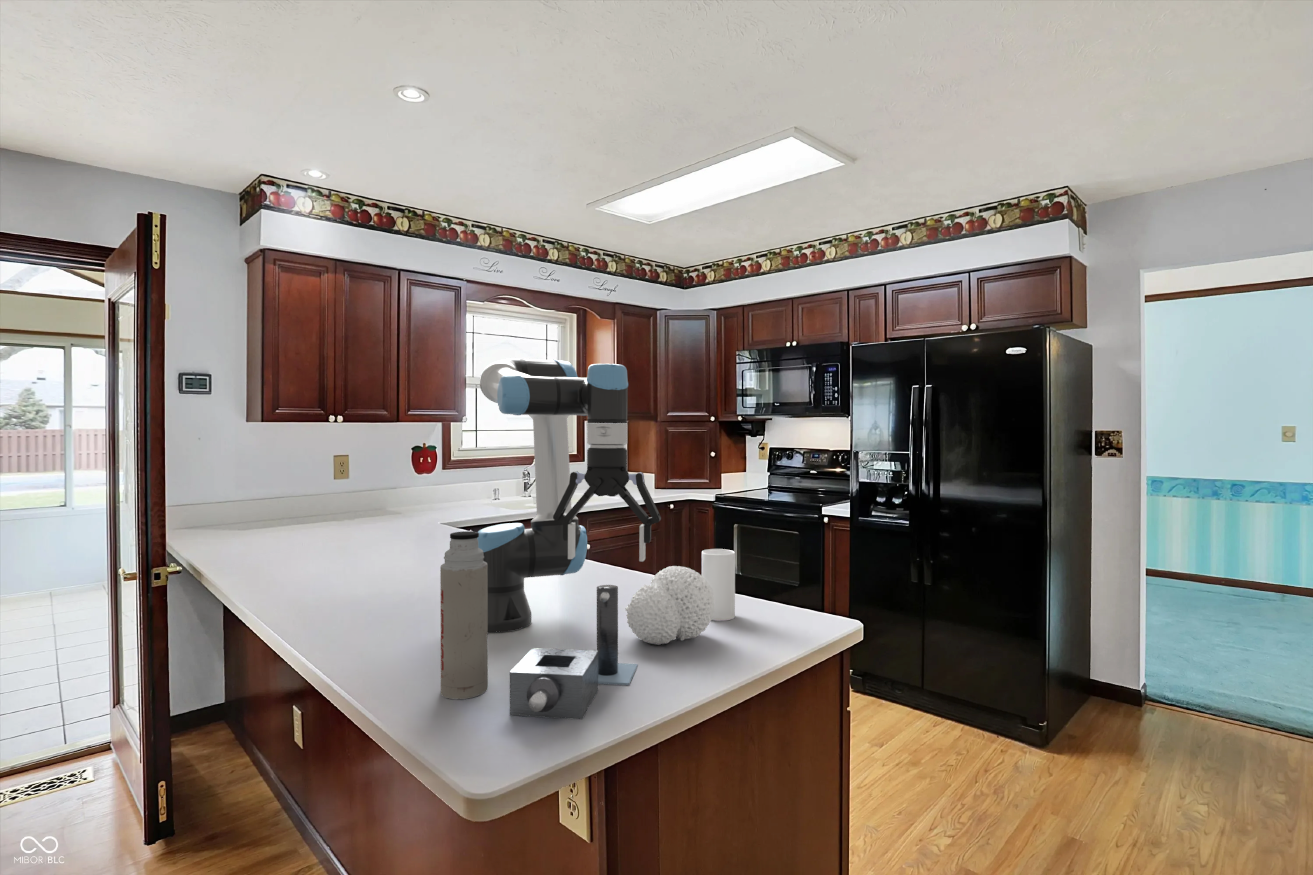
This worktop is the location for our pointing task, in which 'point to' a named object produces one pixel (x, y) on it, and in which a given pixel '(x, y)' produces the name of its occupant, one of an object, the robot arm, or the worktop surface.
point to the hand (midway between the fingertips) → (606, 559)
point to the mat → (619, 675)
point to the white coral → (671, 606)
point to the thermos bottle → (464, 618)
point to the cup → (720, 581)
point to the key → (607, 629)
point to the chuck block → (554, 683)
